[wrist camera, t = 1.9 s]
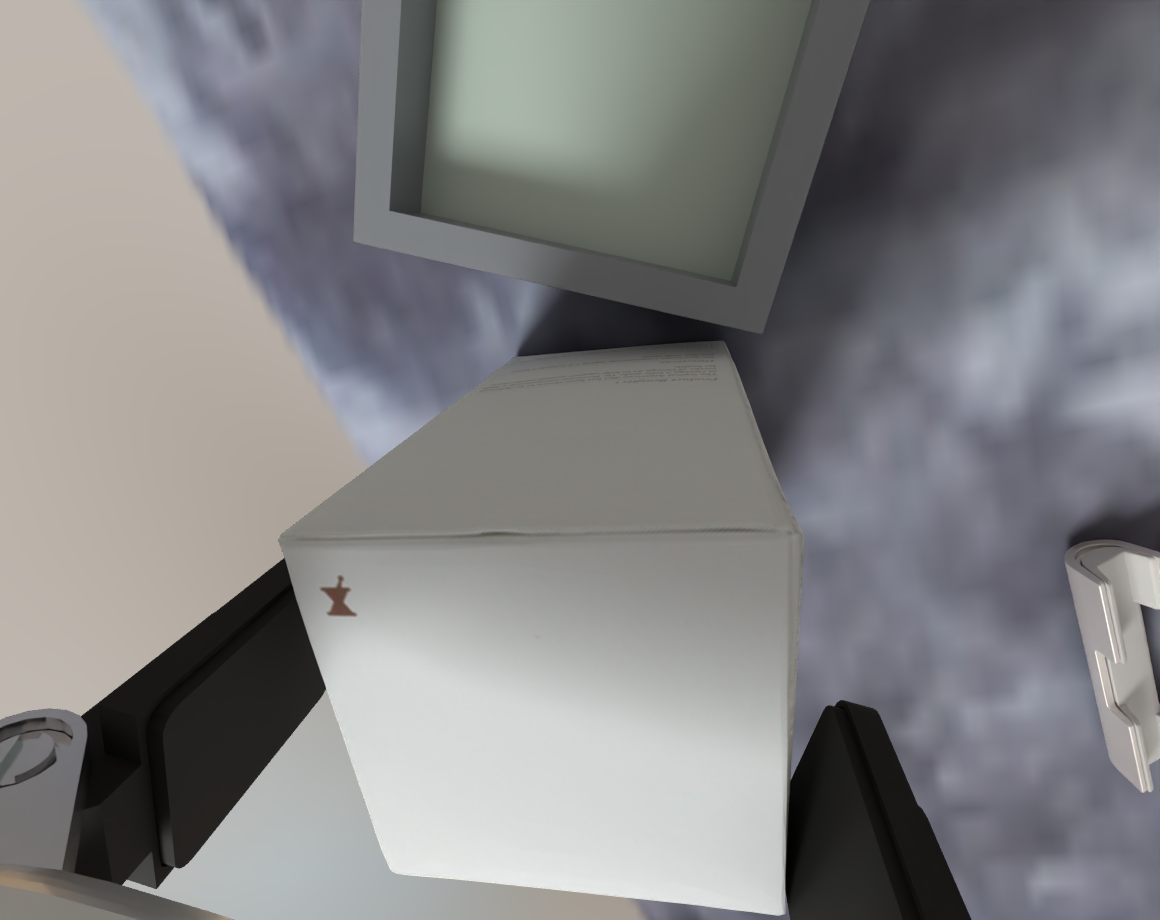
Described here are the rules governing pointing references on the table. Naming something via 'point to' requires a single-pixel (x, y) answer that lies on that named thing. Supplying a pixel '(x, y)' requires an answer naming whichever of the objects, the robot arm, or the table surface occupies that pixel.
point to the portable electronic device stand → (1120, 647)
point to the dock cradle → (601, 141)
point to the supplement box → (570, 632)
